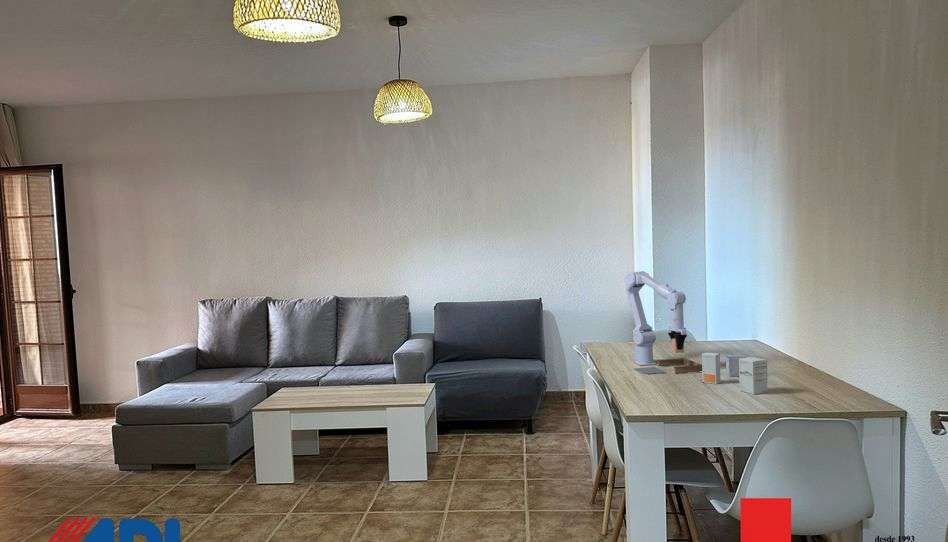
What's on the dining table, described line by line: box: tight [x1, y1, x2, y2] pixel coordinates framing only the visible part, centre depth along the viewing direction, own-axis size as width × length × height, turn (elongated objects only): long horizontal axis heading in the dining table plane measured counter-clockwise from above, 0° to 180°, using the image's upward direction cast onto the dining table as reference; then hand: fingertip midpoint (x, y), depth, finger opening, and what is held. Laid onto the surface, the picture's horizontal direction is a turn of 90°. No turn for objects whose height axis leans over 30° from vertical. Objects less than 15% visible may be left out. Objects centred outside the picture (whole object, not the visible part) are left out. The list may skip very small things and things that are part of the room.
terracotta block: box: [671, 339, 685, 354], centre depth 314 cm, size 4×4×6 cm
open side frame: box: [657, 357, 702, 374], centre depth 315 cm, size 19×13×3 cm
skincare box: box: [701, 352, 721, 385], centre depth 284 cm, size 6×4×12 cm
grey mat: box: [633, 366, 666, 375], centre depth 313 cm, size 13×10×1 cm
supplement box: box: [738, 356, 769, 395], centre depth 265 cm, size 7×7×13 cm
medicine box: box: [725, 354, 749, 378], centre depth 295 cm, size 8×4×9 cm, turn 84°
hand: (677, 348), depth 314 cm, fingers closed on terracotta block, 4 cm apart
